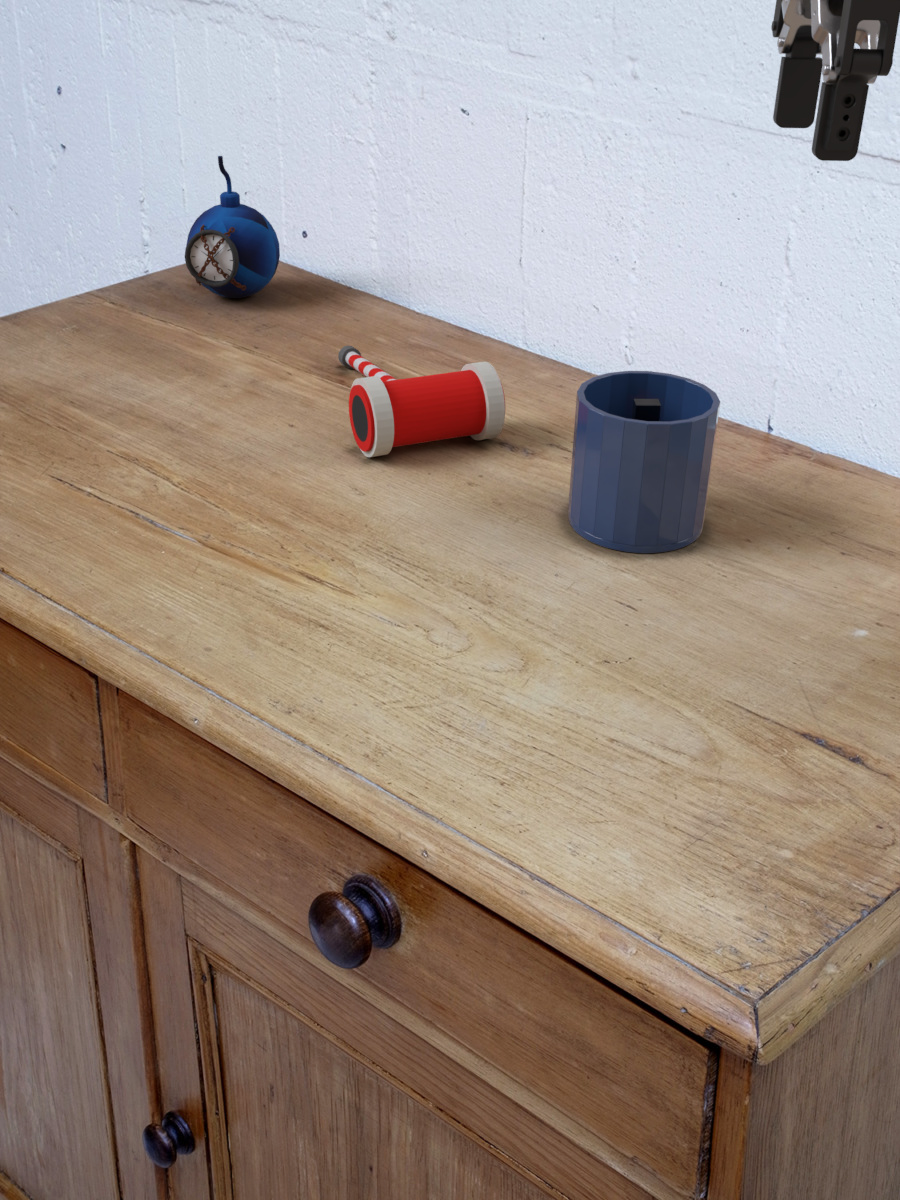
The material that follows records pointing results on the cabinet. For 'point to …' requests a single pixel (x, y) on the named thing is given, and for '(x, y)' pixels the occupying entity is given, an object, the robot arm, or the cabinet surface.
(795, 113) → the robot arm
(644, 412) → the tall red rectangular prism
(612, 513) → the cup
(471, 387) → the toy hammer
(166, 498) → the cabinet surface
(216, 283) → the bomb
